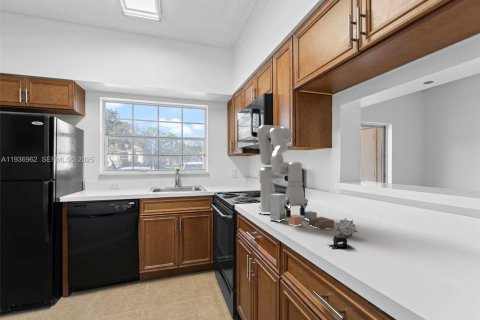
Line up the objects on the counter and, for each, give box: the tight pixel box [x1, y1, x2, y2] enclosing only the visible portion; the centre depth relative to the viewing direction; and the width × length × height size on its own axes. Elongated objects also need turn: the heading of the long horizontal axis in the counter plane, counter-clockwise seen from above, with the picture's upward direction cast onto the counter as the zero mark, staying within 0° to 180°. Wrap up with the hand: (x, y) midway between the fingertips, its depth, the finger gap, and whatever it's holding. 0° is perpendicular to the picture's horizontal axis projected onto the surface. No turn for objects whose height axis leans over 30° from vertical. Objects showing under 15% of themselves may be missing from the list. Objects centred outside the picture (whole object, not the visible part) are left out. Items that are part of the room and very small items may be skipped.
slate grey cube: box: [303, 210, 318, 219], centre depth 136 cm, size 5×5×5 cm
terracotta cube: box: [287, 214, 303, 225], centre depth 124 cm, size 5×5×5 cm
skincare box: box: [269, 193, 287, 220], centre depth 135 cm, size 8×7×16 cm
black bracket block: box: [328, 234, 356, 250], centre depth 91 cm, size 12×7×5 cm, turn 96°
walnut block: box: [308, 216, 335, 230], centre depth 121 cm, size 9×9×4 cm
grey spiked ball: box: [335, 217, 358, 239], centre depth 105 cm, size 9×8×10 cm
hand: (295, 216), depth 124 cm, fingers open, 9 cm apart
